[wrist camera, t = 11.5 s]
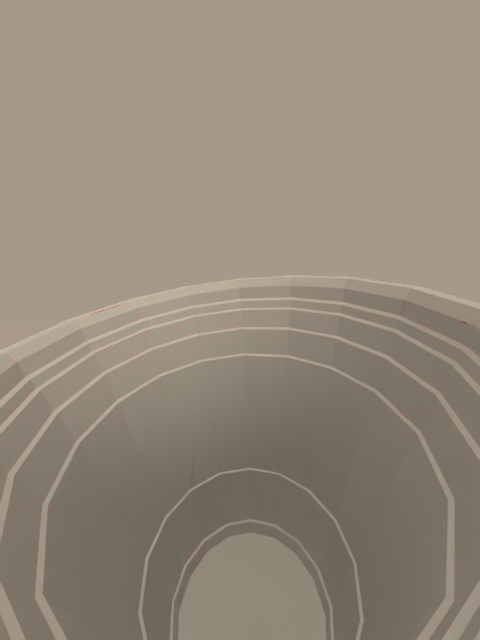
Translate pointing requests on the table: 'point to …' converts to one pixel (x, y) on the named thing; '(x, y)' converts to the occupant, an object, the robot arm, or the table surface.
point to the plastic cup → (245, 466)
